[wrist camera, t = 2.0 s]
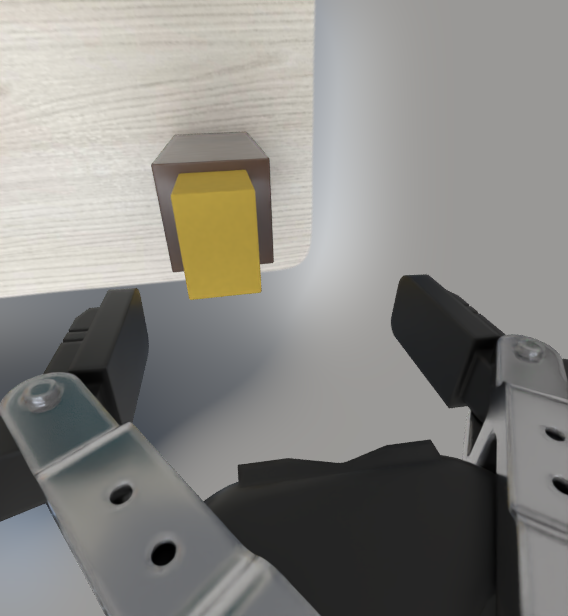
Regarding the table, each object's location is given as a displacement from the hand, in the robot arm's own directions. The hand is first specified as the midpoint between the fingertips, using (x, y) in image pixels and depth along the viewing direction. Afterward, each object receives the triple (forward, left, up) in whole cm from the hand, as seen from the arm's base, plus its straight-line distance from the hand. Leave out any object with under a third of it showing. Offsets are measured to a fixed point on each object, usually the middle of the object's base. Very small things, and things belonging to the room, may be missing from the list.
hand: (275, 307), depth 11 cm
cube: (+1, -1, -11) cm, 11 cm away
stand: (+1, -1, -25) cm, 25 cm away
